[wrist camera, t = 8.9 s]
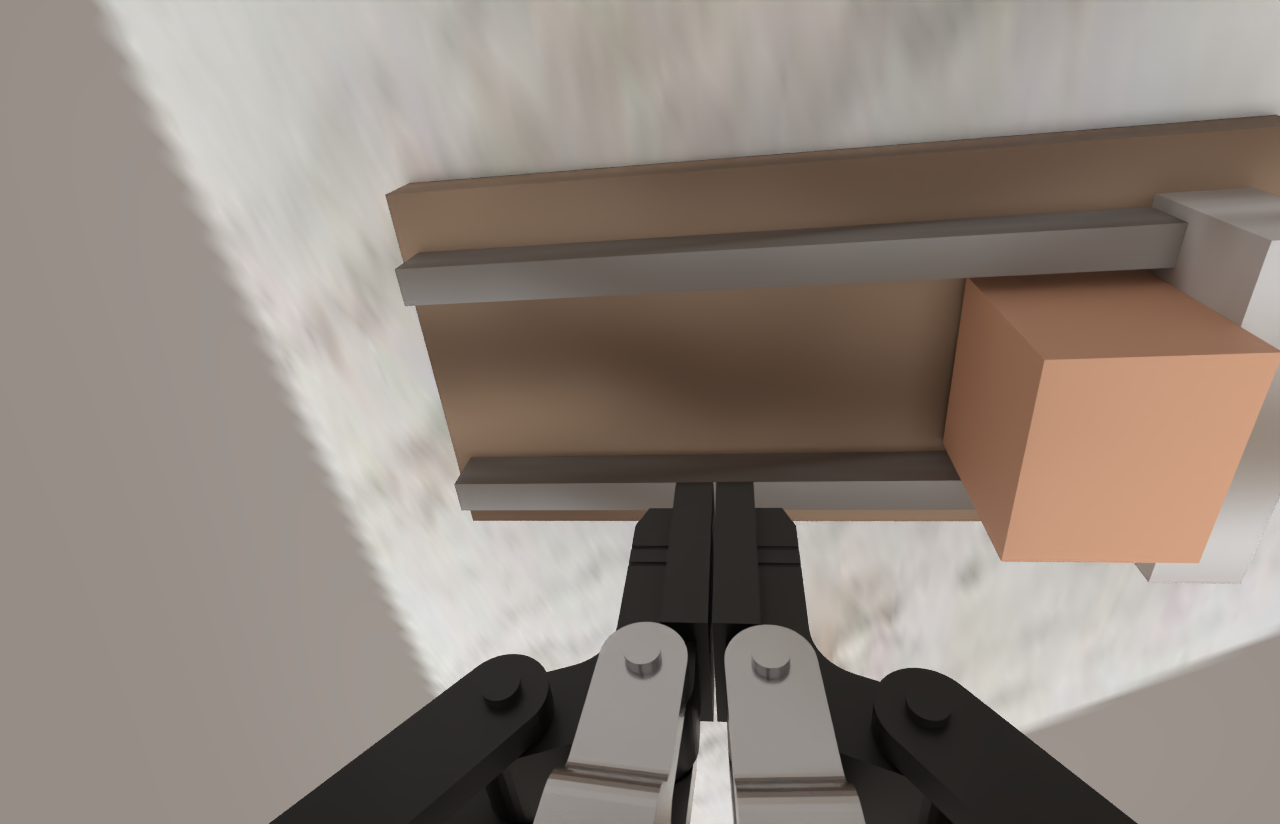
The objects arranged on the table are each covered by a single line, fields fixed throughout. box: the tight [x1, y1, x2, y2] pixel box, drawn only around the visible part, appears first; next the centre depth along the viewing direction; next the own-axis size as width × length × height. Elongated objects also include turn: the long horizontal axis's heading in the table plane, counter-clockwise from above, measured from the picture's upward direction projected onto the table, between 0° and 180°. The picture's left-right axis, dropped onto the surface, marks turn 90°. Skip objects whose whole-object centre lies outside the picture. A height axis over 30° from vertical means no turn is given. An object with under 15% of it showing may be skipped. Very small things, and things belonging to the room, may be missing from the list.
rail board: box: [386, 115, 1280, 584], centre depth 18 cm, size 11×22×6 cm, turn 96°
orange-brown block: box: [943, 269, 1280, 563], centre depth 16 cm, size 5×4×5 cm
